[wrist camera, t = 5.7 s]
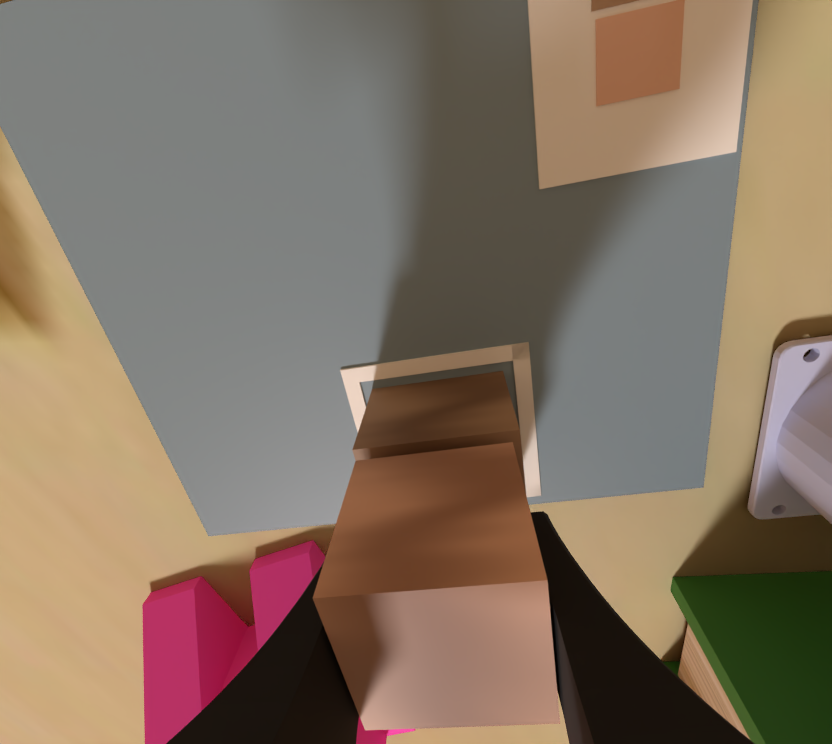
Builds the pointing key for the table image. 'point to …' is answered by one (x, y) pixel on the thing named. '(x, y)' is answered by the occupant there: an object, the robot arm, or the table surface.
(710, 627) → the hardback book
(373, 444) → the walnut block
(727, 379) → the table surface
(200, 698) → the bracket
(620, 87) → the mat
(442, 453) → the terracotta block
